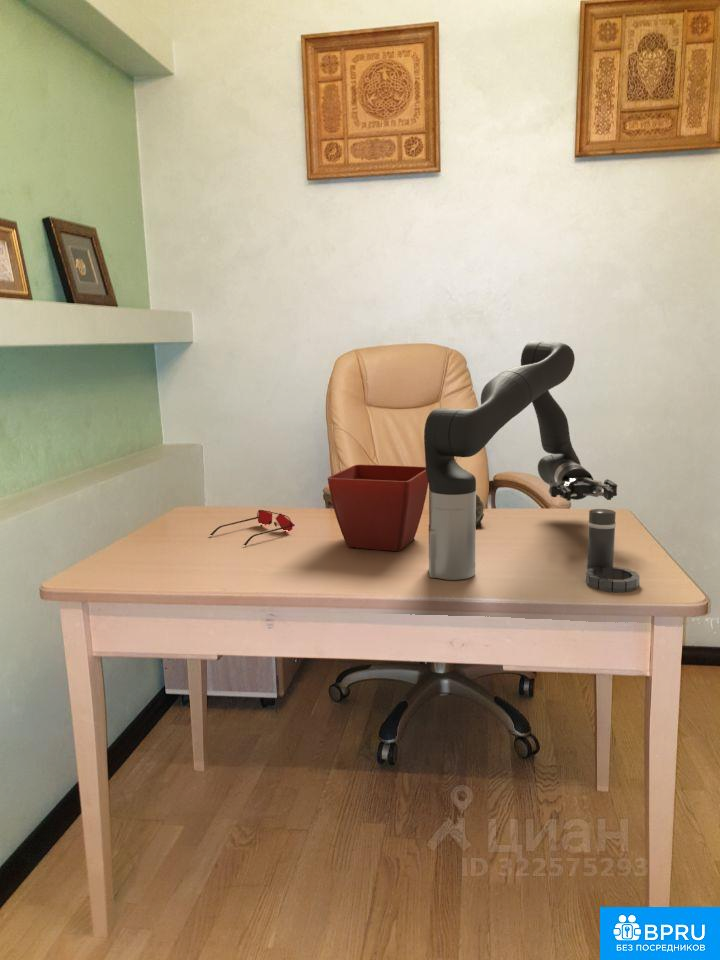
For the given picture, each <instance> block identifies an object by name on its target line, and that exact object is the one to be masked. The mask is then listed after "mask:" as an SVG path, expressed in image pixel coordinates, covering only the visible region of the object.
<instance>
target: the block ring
mask: <svg viewBox="0 0 720 960" xmlns="http://www.w3.org/2000/svg"><path fill="white" fill-rule="evenodd" d="M585 583H586V585H587V586H588V587H591V588H593V589H594V590H598V591H603V592H610V593H628V592H632V591H636V590H637V589H638V588H639V587H640V575H639V573H637V571H634V570H632V569H629V568H627V567H626V568H625V567H621V566H614V565H613V567H612V566H600V567H599V566H598V567H594V568H590V569H587V570H586V571H585Z"/></svg>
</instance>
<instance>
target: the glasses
mask: <svg viewBox="0 0 720 960" xmlns="http://www.w3.org/2000/svg"><path fill="white" fill-rule="evenodd" d="M273 514H275V515H277V516H276V517H275V520H276V521H274V522H273ZM256 519H257V522H258V524H259V523H262V524H265V525H264V526H267V525H269V526H270V525H271V524H273V525H274V526H275V527H277V528H274V529H271V530H267V531H262V532H259V533H255V534H253V535H252V536H250V537H249V538H248V539H247V540H246V541H245V542H244V543H243V545H246V546H247V545H248V543H249V542H250V541H251V540H252V539H253V538H254V537H256V536H260V535H265V534H267V533H272V532H276V531H279V530H282V529H283V530H288V531H289V532H290V531H292V530H293V527H295V526H296V524H295V523H293V522H292V520H291V518H290V517H289V516H287V515H285V514H283V513H281V512H280V513H278V512H273V511H270V510H264V509H258V511H257V513H256V516H255V517H251V518H246V519H242V520H238V521H234V522H230V523H227V524H222V525H219V526H218V527H216V528H215V529H214V530H213V532H211V533H210V534H209V535H212V536H213V535H214V534H215V533H216V532H217V531H218V530H220V529H221V528H223V527H227V526H231V525H236V524H239V523H244V522H249V521H252V520H256ZM278 526H279V527H278ZM283 530H282V531H283Z"/></svg>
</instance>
